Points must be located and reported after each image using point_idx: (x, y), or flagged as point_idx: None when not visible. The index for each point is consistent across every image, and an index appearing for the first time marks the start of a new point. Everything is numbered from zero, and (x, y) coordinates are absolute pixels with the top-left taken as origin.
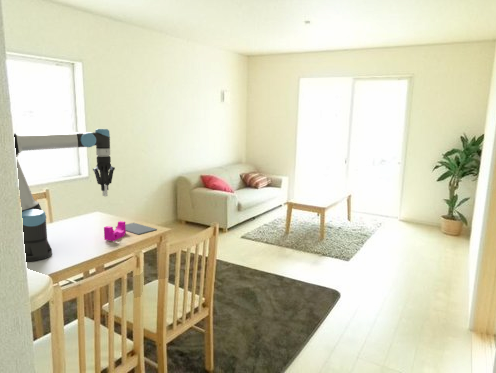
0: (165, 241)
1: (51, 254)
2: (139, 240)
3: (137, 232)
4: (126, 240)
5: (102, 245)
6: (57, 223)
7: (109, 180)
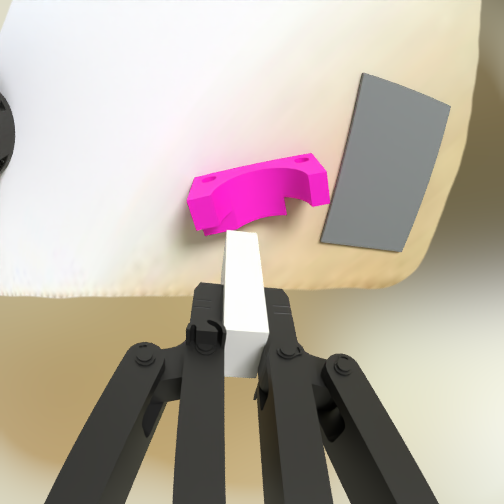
0: None
1: None
2: None
3: (335, 226)
4: None
5: (143, 233)
6: None
7: (361, 396)
